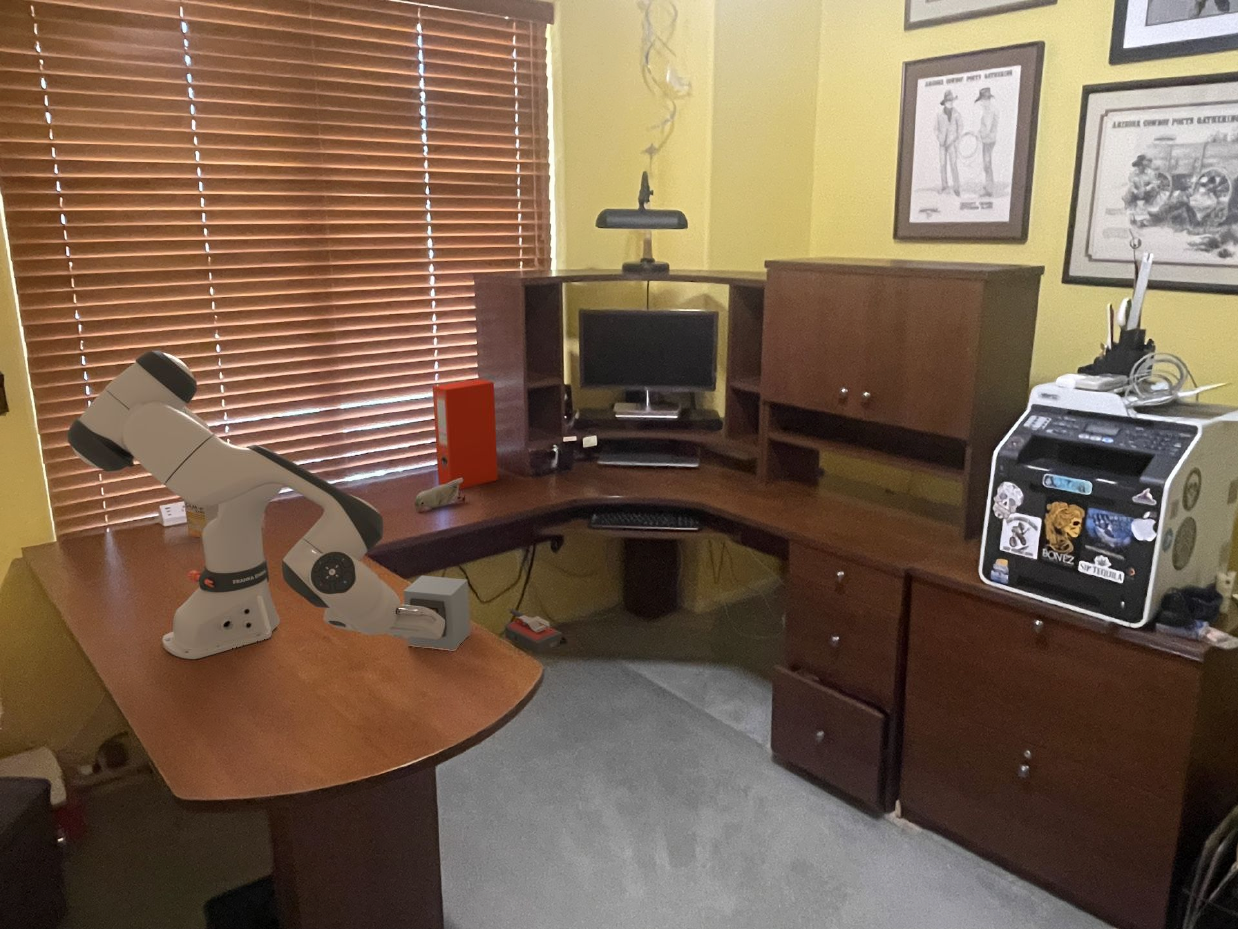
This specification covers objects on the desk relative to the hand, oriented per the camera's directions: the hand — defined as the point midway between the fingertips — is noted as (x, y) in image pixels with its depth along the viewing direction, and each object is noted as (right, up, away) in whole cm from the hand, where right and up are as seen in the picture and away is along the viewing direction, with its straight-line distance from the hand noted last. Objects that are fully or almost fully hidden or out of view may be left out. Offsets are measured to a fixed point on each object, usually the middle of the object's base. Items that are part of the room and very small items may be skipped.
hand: (403, 634), depth 167 cm
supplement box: (-72, +12, +78) cm, 107 cm away
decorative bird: (-13, +18, +100) cm, 102 cm away
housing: (+4, -4, +16) cm, 17 cm away
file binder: (-8, +25, +123) cm, 126 cm away
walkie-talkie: (+21, -4, +19) cm, 29 cm away
